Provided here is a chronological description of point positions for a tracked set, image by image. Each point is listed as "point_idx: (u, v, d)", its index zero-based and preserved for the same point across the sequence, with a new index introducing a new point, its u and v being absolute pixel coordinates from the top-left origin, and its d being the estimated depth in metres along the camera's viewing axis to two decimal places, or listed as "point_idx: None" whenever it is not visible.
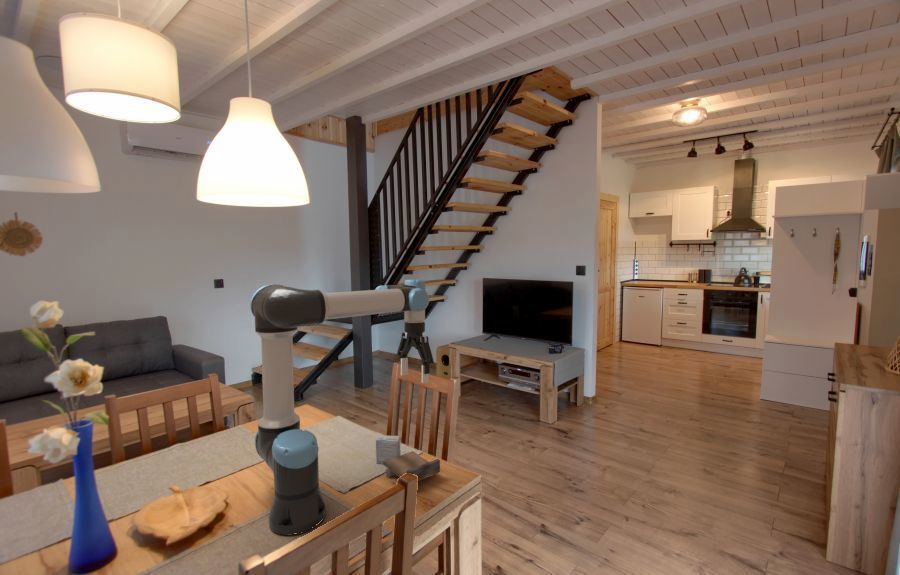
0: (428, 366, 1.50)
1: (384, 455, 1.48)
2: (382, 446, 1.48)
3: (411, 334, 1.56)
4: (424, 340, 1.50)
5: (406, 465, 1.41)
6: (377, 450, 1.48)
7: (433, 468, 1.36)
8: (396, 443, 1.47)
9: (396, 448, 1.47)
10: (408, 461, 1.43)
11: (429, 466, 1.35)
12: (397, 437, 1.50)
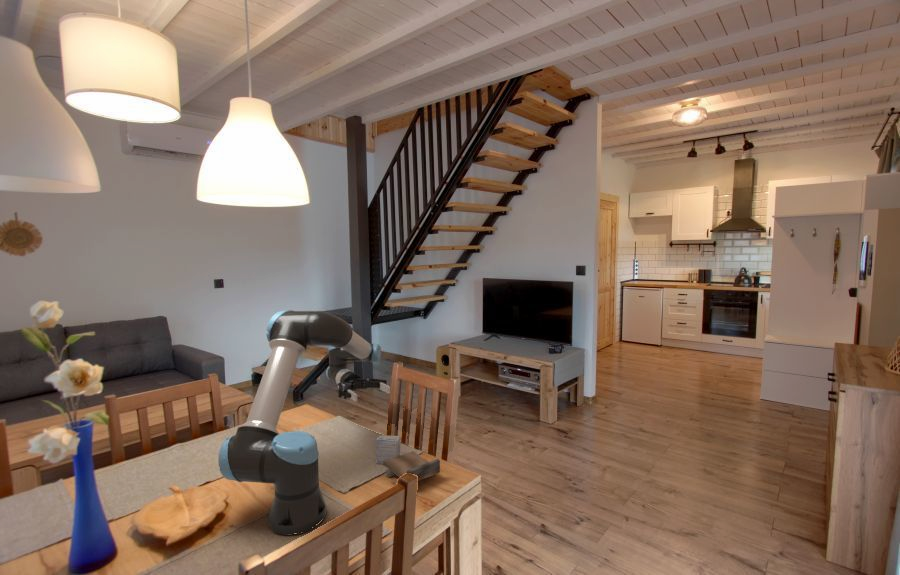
0: None
1: (384, 455, 1.48)
2: (382, 446, 1.48)
3: None
4: None
5: (406, 465, 1.41)
6: (377, 450, 1.48)
7: (433, 468, 1.36)
8: (396, 443, 1.47)
9: (396, 448, 1.47)
10: (408, 461, 1.43)
11: (429, 466, 1.35)
12: (397, 437, 1.50)
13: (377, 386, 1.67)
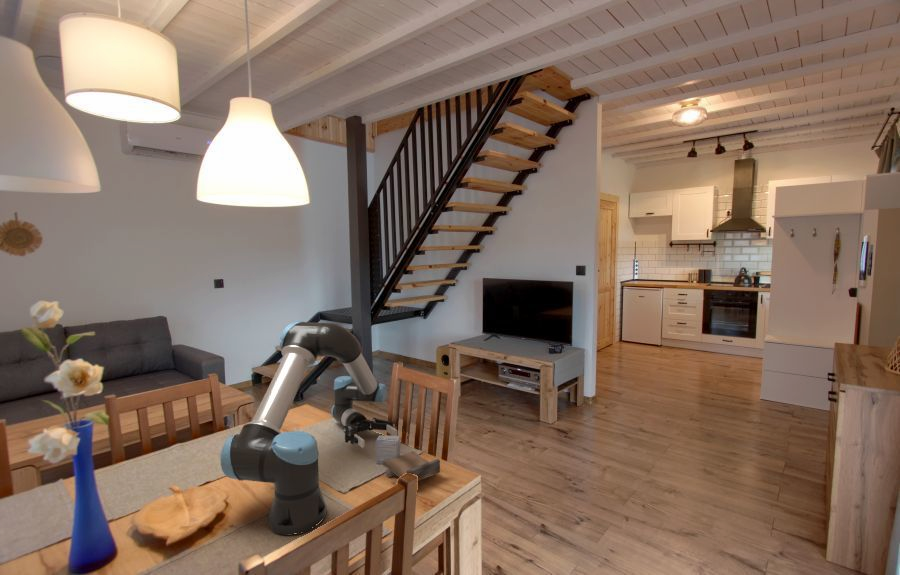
0: None
1: (384, 455, 1.48)
2: (382, 446, 1.48)
3: (358, 422, 1.68)
4: None
5: (406, 465, 1.41)
6: (377, 450, 1.48)
7: (433, 468, 1.36)
8: (396, 443, 1.47)
9: (396, 448, 1.47)
10: (408, 461, 1.43)
11: (429, 466, 1.35)
12: (397, 437, 1.50)
13: (383, 428, 1.66)
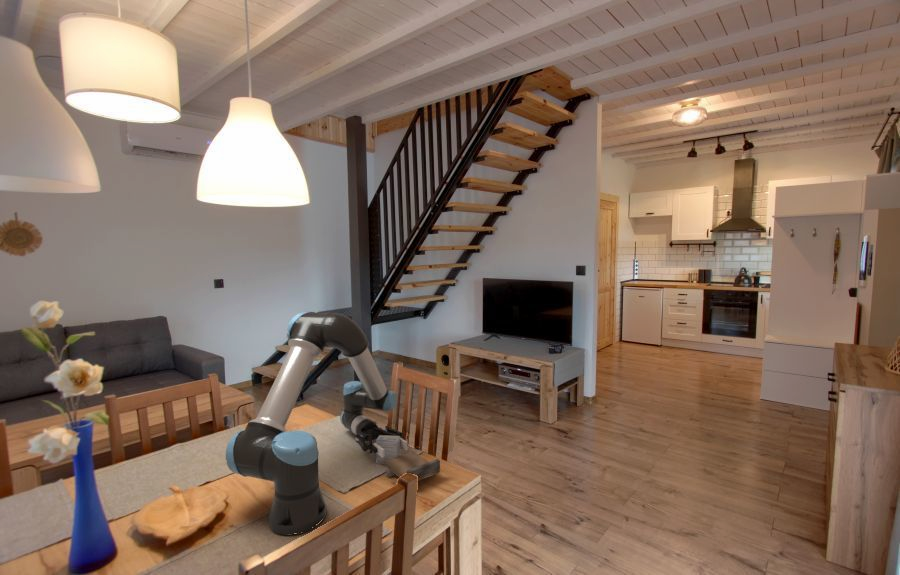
0: None
1: (384, 455, 1.48)
2: (382, 446, 1.48)
3: None
4: None
5: (406, 465, 1.41)
6: None
7: (433, 468, 1.36)
8: (396, 443, 1.47)
9: (396, 448, 1.47)
10: (408, 461, 1.43)
11: (429, 466, 1.35)
12: (397, 437, 1.50)
13: None
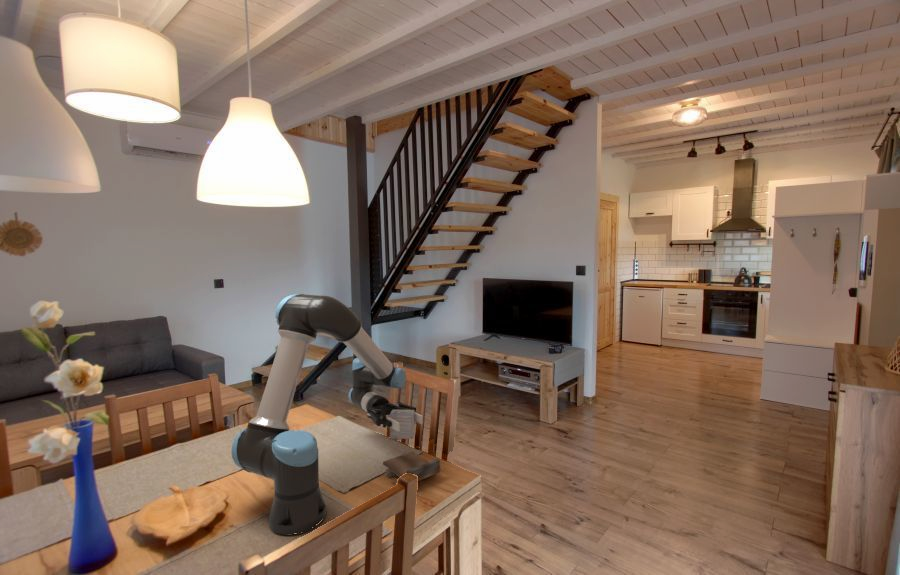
0: None
1: None
2: (397, 420, 1.41)
3: None
4: None
5: (406, 465, 1.41)
6: None
7: (433, 468, 1.36)
8: (411, 416, 1.41)
9: (411, 422, 1.41)
10: (408, 461, 1.43)
11: (429, 466, 1.35)
12: (412, 411, 1.44)
13: None
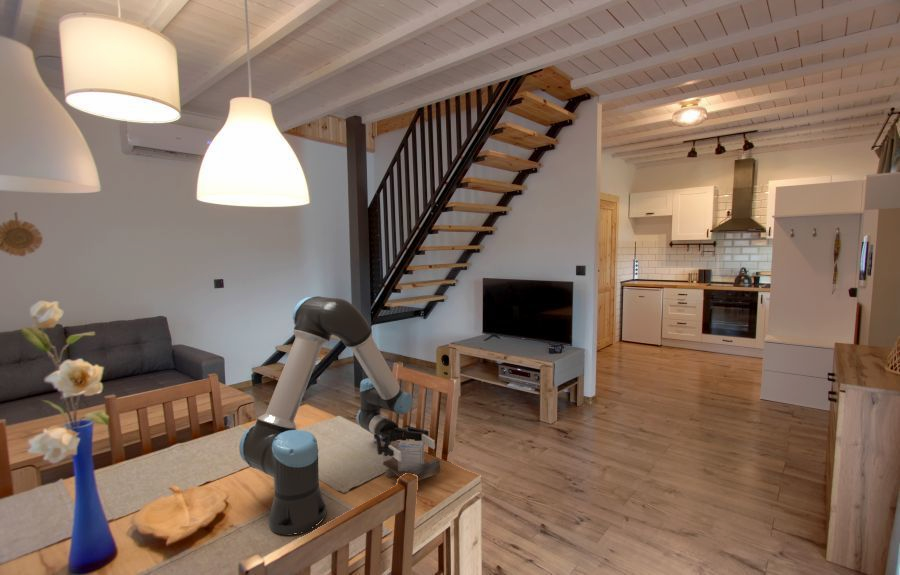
0: None
1: (406, 462, 1.36)
2: (405, 452, 1.36)
3: None
4: None
5: None
6: None
7: (433, 468, 1.36)
8: (420, 449, 1.35)
9: (420, 455, 1.35)
10: None
11: (429, 466, 1.35)
12: (421, 442, 1.38)
13: (418, 438, 1.45)
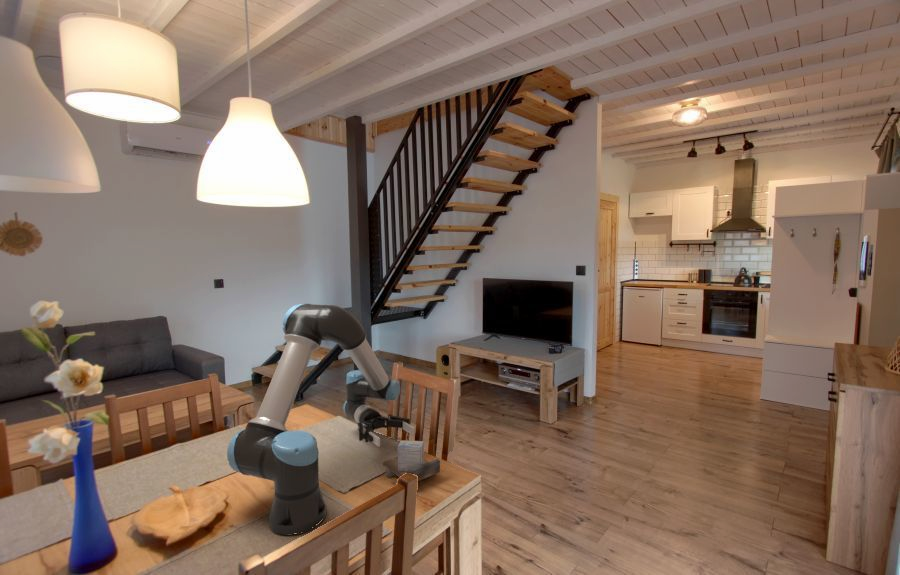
0: None
1: (406, 462, 1.36)
2: (405, 452, 1.36)
3: None
4: None
5: None
6: (399, 456, 1.36)
7: (433, 468, 1.36)
8: (420, 449, 1.35)
9: (420, 455, 1.35)
10: None
11: (429, 466, 1.35)
12: (421, 442, 1.38)
13: (400, 426, 1.55)
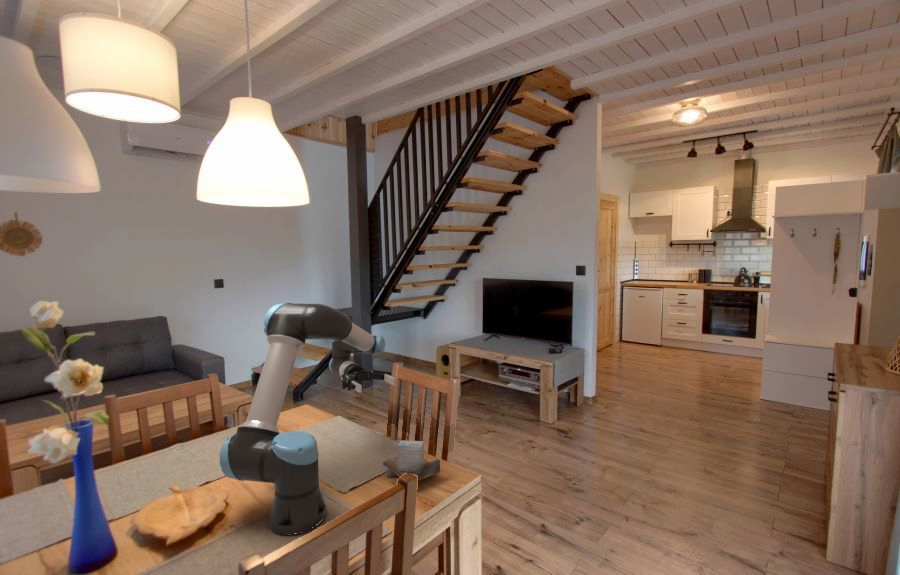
0: None
1: (406, 462, 1.36)
2: (405, 452, 1.36)
3: None
4: None
5: None
6: (399, 456, 1.36)
7: (433, 468, 1.36)
8: (420, 449, 1.35)
9: (420, 455, 1.35)
10: None
11: (429, 466, 1.35)
12: (421, 442, 1.38)
13: (381, 378, 1.64)
